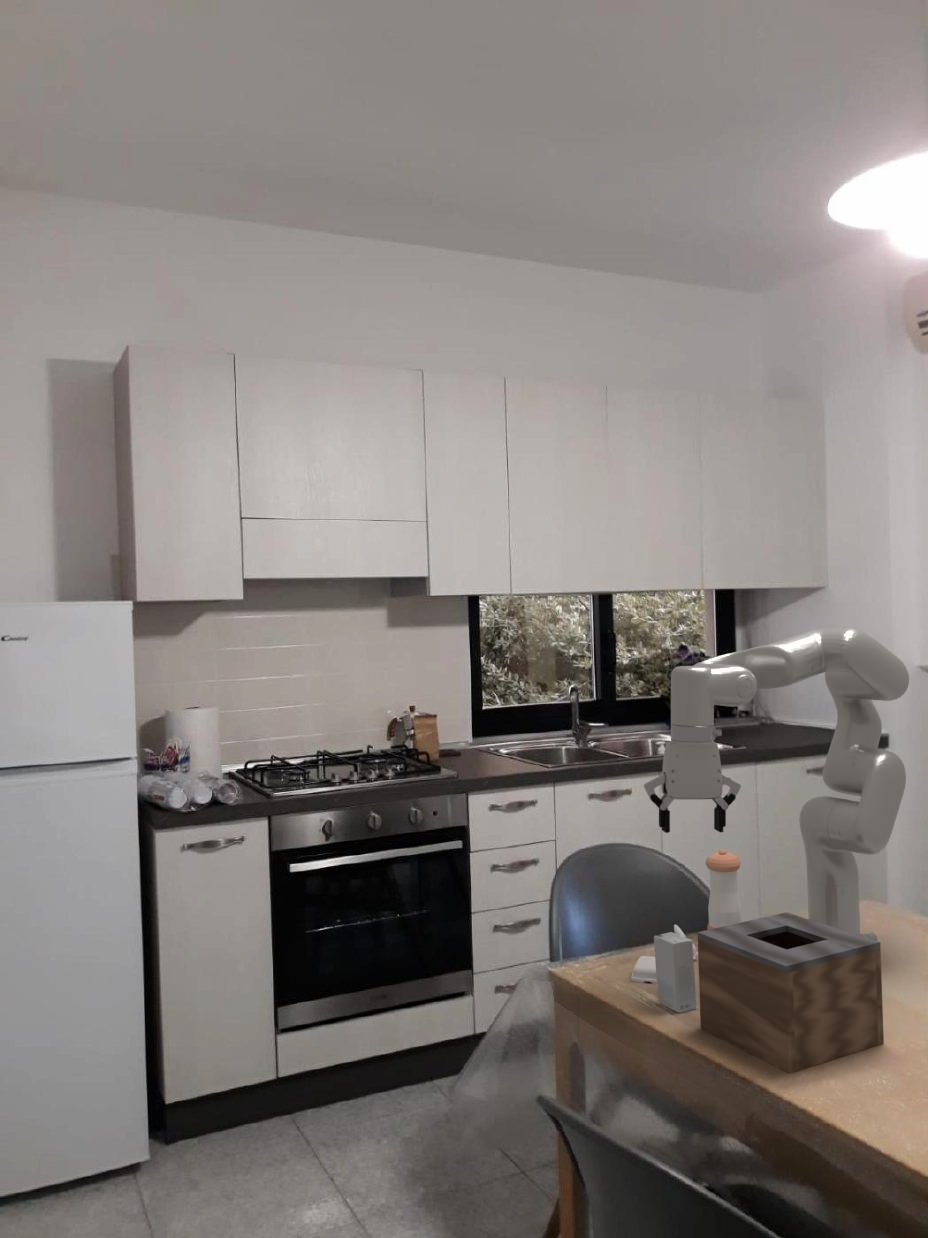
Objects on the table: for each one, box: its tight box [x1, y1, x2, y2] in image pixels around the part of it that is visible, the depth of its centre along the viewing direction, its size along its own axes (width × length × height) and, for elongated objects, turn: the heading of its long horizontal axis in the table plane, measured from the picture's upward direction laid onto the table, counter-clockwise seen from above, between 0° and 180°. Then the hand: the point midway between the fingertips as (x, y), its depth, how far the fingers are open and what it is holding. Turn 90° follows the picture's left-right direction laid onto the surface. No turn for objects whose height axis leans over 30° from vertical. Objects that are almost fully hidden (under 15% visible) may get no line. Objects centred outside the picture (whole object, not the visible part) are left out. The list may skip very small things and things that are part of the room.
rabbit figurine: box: [673, 924, 698, 961], centre depth 210 cm, size 6×4×8 cm
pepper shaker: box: [705, 849, 742, 930], centre depth 218 cm, size 7×7×19 cm
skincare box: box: [653, 931, 697, 1013], centre depth 184 cm, size 6×4×12 cm
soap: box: [630, 955, 657, 985], centre depth 200 cm, size 9×7×3 cm
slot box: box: [696, 912, 885, 1074], centre depth 170 cm, size 20×20×16 cm
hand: (692, 831), depth 188 cm, fingers open, 9 cm apart
